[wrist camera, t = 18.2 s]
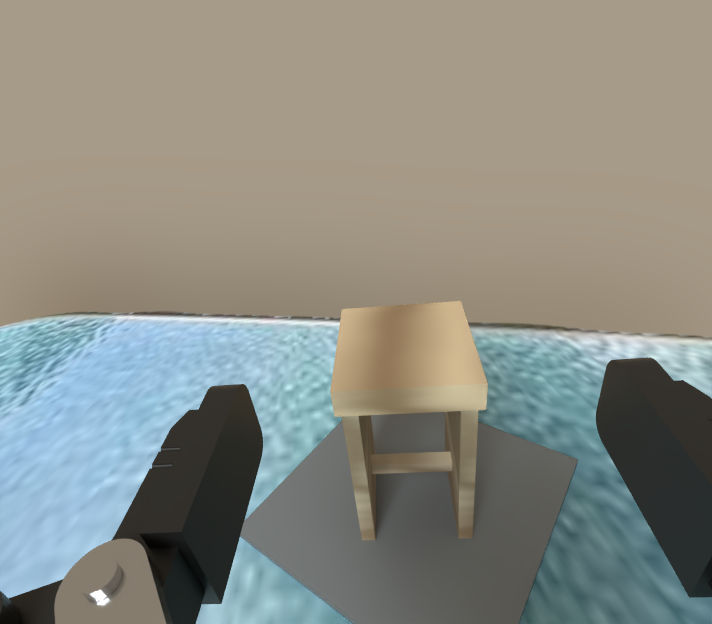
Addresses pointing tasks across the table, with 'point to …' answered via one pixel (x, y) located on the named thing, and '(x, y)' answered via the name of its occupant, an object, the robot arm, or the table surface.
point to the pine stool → (409, 396)
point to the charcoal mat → (416, 528)
